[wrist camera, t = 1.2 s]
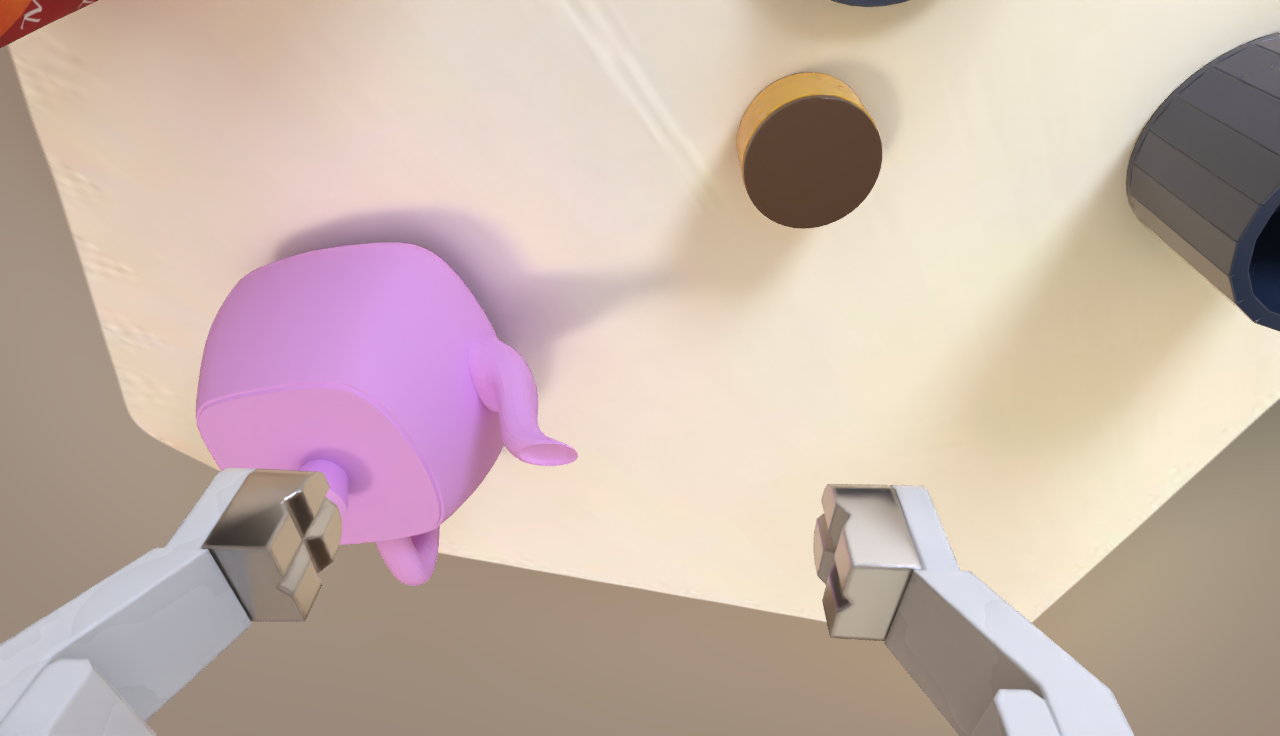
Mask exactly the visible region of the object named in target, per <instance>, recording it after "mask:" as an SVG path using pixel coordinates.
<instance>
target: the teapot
mask: <svg viewBox="0 0 1280 736" xmlns="http://www.w3.org/2000/svg"><path fill="white" fill-rule="evenodd" d="M537 414H538V395H537V388H536V385H535V382H534V378H533V376H532V373H531V370H530V369H529V367H528V365H527V363H526V362H525V361H524V359H523V358H522V357H521V355H520V354H519V353H518V352H517V351H516V350H515V349H513V348H512V347H510V346H509V345H507V344H505V343H504V342H502V341H500V340H499V339H498V337H497V335H496V333H495V331H494V328H493V326H492V324H491V323H490V321H489V319H488V318H487V316H486V314H485V313H484V311H483V309H482V308H481V306H480V305H479V303H478V302H477V300H476V299H475V297H474V296H473V294H472V293H471V291H470V290H469V289H468V287H467V286H466V285H465V283H464V282H463V281H462V279H461V278H460V277H459V276H458V275H457V274H456V273H455V271H454V270H453V269H452V268H451V267H450V266H449V265H448V264H447V263H446V262H444V261H443V260H442V259H441V258H440V257H439V256H437V255H436V254H434V253H433V252H431V251H429V250H427V249H426V248H423V247H420V246H417V245H414V244H408V243H400V242H378V243H366V244H356V245H346V246H339V247H332V248H325V249H319V250H314V251H310V252H306V253H301V254H298V255H294V256H291V257H288V258H284V259H281V260H278V261H275V262H272V263H270V264H267V265H265V266H262V267H260V268H257V269H256V270H254V271H252V272H250V273H249V274H247V275H246V276H245V277H243V278H242V279H241V280H240V281H239V282H238V283H237V284H236V286H235V287H234V288H233V289H232V291H231V292H230V294H229V295H228V296H227V298H226V300H225V301H224V303H223V305H222V306H221V308H220V309H219V311H218V313H217V315H216V317H215V319H214V321H213V323H212V326H211V329H210V332H209V334H208V337H207V340H206V344H205V348H204V353H203V358H202V363H201V368H200V376H199V383H198V392H197V400H196V419H197V426H198V429H199V431H200V434H201V437H202V439H203V441H204V442H205V444H206V446H207V448H208V450H209V452H210V453H211V455H212V457H213V458H214V460H215V461H216V463H217V465H218V466H219V468H220V469H221V470H224V469H225V468H227V467H230V468H251V469H257V468H260V469H280V470H299V471H317V472H321V473H324V475H325V477H326V479H327V481H328V484H329V486H330V488H329V490H328V492H327V494H326V496H325V497H326V498H328V499H329V500H330V501H332V502H333V503H334V504H336V505H337V506H338V509H339V512H340V514H341V520H342V534H341V540H340V545H342V544H357V543H367V542H375V543H376V545H377V547H378V549H379V552H380V554H381V556H382V558H383V559H384V561H385V563H386V565H387V566H388V568H389V570H390V571H391V572H392V574H393V575H394V576H395V577H396V578H397V579H398V580H399V581H401V582H402V583H403V584H406V585H414V586H415V585H416V586H418V585H422V584H424V583H425V582H427V581H428V580H429V578H430V577H431V575H432V573H433V571H434V568H435V565H436V560H437V554H438V545H439V527H440V525H441V524H442V523H443V522H444V521H445V520H446V519H448V518H449V517H450V516H451V515H452V514H453V513H454V512H455V511H456V510H457V509H458V508H459V507H460V506H461V505H462V504H463V503H464V502H465V501H466V500H467V499H468V497H469V496H470V495H471V494H472V493H473V492H474V491H475V490H476V488H477V487H478V486H479V485H480V484H481V482H482V481H483V480H484V478H485V477H486V475H487V474H488V472H489V471H490V469H491V468H492V466H493V465H494V463H495V462H496V460H497V458H498V456H499V454H500V452H501V450H502V448H503V445H504V444H505V446H506V448H507V449H508V450H509V452H510V453H511V454H512V455H514V456H515V457H516V458H518V459H519V460H521V461H523V462H526V463H529V464H534V465H542V466H556V465H564V464H568V463H571V462H573V461H575V460H576V459H577V457H578V455H577V452H576V451H575V449H573V448H572V447H570V446H568V445H567V444H564V443H561V442H559V441H556V440H554V439H552V438H549V437H547V436H545V435H544V434H543V433H542V432H541V431H540V429H539V427H538V422H537Z"/></svg>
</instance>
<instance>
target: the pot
mask: <svg viewBox="0 0 1280 736" xmlns="http://www.w3.org/2000/svg"><path fill="white" fill-rule="evenodd" d="M1126 186H1127V196H1128V200H1129V204H1130V206H1131V208H1132V210H1133V212H1134V214H1135V215H1136V217H1137V218H1138V219H1139V221H1140V222H1141V223H1143V224H1144V225H1145V226H1146V227H1147V228H1148V229H1149V230H1150V231H1151V232H1152V233H1153V234H1154V235H1155V236H1156V237H1157V238H1158V239H1159V240H1161V241H1162V242H1163V243H1164V244H1165V245H1166V246H1167V247H1169V248H1170V249H1171V250H1172V251H1173V252H1174V253H1175V254H1177V255H1178V256H1179V257H1180V258H1181V259H1182V260H1183V261H1184V262H1186V263H1187V264H1188V265H1189V266H1190V267H1191V268H1192V269H1194V270H1195V271H1196V272H1197V273H1198V274H1199V275H1200V276H1201V277H1203V278H1204V279H1205V280H1206V281H1207V282H1208V283H1209V284H1211V285H1212V286H1213V287H1214V288H1215V289H1216V290H1217V291H1218V292H1220V293H1221V294H1222V295H1223V296H1224V297H1225V298H1226V299H1228V300H1229V301H1230V302H1231V303H1232V304H1233V305H1234V306H1236V307H1237V308H1238V309H1239V310H1240V311H1241V312H1242V313H1243V314H1245V315H1246V316H1247V317H1248V318H1249V319H1250V320H1251V321H1253V322H1254V323H1257V324H1260V325H1262V326H1265V327H1268V328H1271V329H1274V330H1277V331H1280V33H1276V34H1272V35H1269V36H1266V37H1262V38H1259V39H1256V40H1253V41H1251V42H1248V43H1246V44H1243V45H1241V46H1239V47H1237V48H1235V49H1233V50H1231V51H1229V52H1227V53H1225V54H1223V55H1221V56H1220V57H1218V58H1217V59H1215V60H1213V61H1212V62H1210V63H1208V64H1207V65H1205V66H1204V67H1203V68H1201V69H1200V70H1199V71H1197V72H1196V73H1195V74H1193V75H1192V76H1191V77H1189V78H1188V79H1187V80H1186V81H1185V82H1184V83H1183V84H1181V85H1180V86H1179V87H1178V88H1177V89H1176V90H1175V91H1174V92H1173V93H1172V94H1171V95H1170V96H1169V97H1168V98H1167V99H1166V100H1165V101H1164V102H1163V103H1162V105H1161V106H1160V107H1159V108H1158V110H1157V111H1156V112H1155V113H1154V115H1153V116H1152V117H1151V119H1150V120H1149V122H1148V123H1147V125H1146V126H1145V128H1144V129H1143V131H1142V133H1141V135H1140V137H1139V139H1138V140H1137V142H1136V145H1135V147H1134V150H1133V152H1132V155H1131V158H1130V162H1129V166H1128V170H1127V179H1126Z"/></svg>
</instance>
